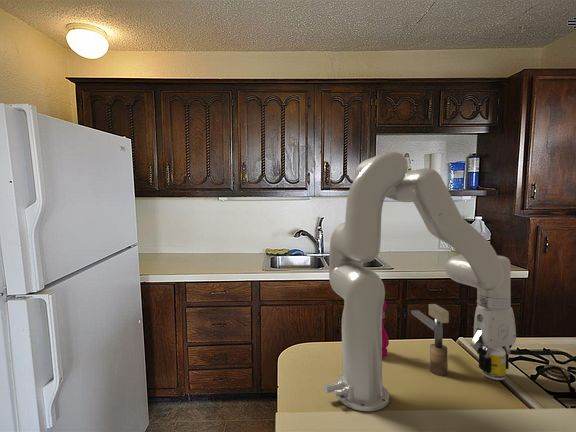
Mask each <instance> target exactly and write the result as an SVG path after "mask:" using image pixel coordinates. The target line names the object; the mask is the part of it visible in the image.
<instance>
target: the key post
mask: <svg viewBox="0 0 576 432" xmlns="http://www.w3.org/2000/svg"><path fill="white" fill-rule="evenodd" d="M448 363H449V362H448V347H447V346H446V345H444V344H443V347H436V346H435V343H430V345H429V367H430V368H429V370H430V373H431V374H434V375H435V376H439V377H445V376H447V375H448V373H449V371H448V369H449V368H448V366H449V365H448Z"/></svg>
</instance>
